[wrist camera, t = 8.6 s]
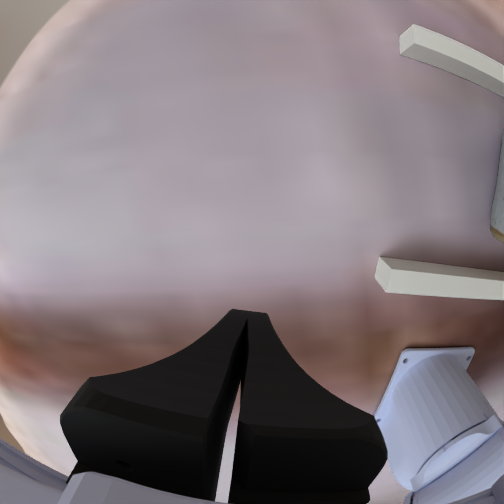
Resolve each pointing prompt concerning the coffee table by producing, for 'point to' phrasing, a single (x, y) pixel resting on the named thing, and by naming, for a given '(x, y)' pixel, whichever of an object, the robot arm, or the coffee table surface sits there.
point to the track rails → (431, 274)
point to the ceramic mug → (499, 201)
